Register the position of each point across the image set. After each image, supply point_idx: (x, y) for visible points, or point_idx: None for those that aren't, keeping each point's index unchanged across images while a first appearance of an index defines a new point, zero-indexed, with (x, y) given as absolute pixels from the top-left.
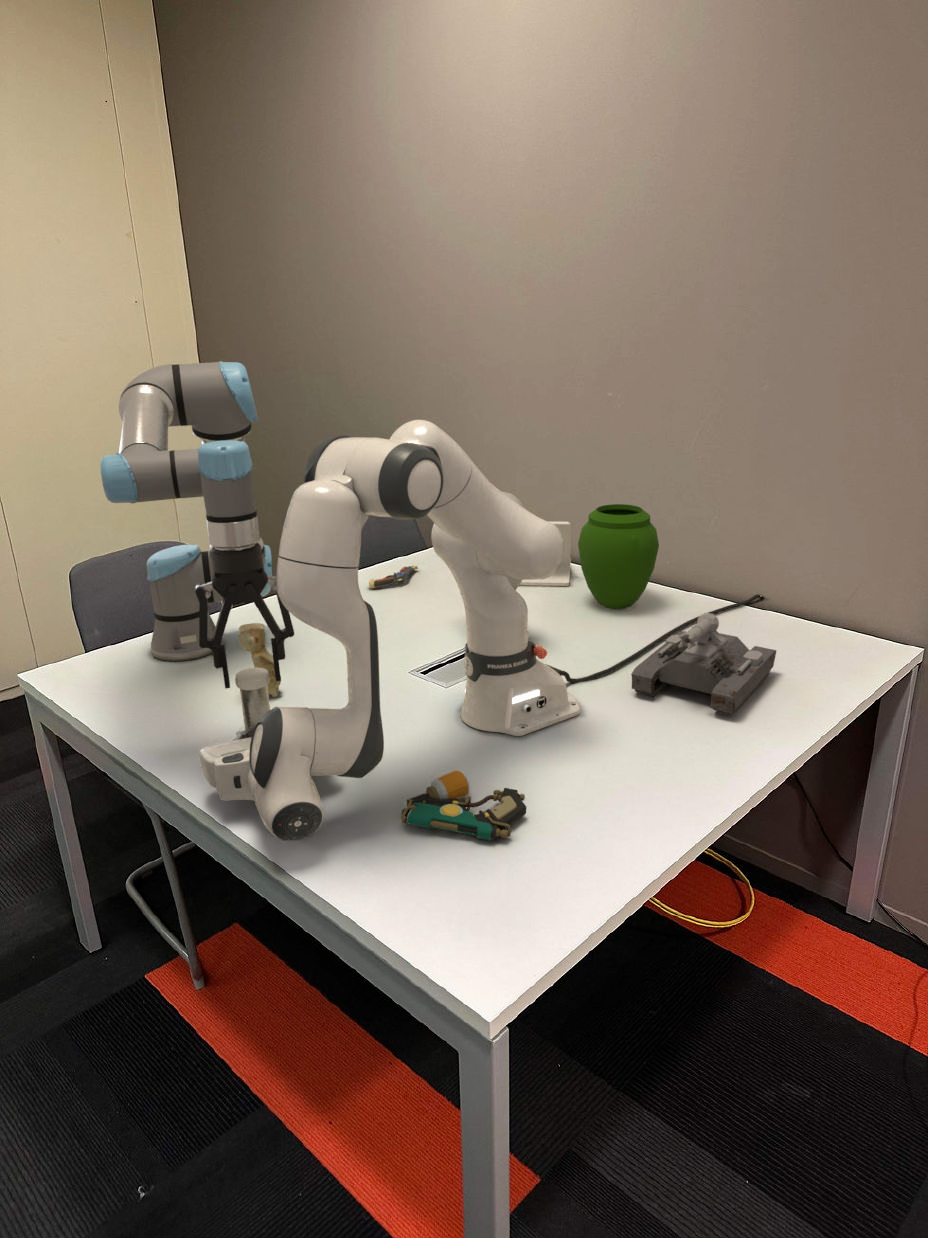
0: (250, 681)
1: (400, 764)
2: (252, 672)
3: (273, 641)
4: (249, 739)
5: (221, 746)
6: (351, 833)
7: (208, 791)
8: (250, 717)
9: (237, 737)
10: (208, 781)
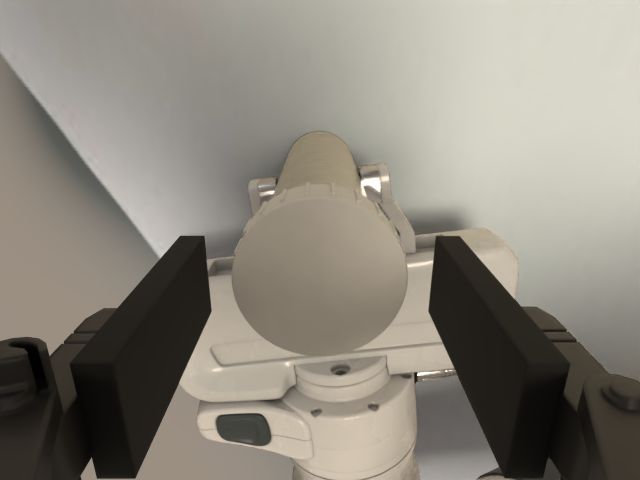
0: (308, 352)
1: (628, 252)
2: (324, 265)
3: (531, 432)
4: None
5: None
6: (449, 435)
7: (191, 230)
8: None
9: None
10: None
